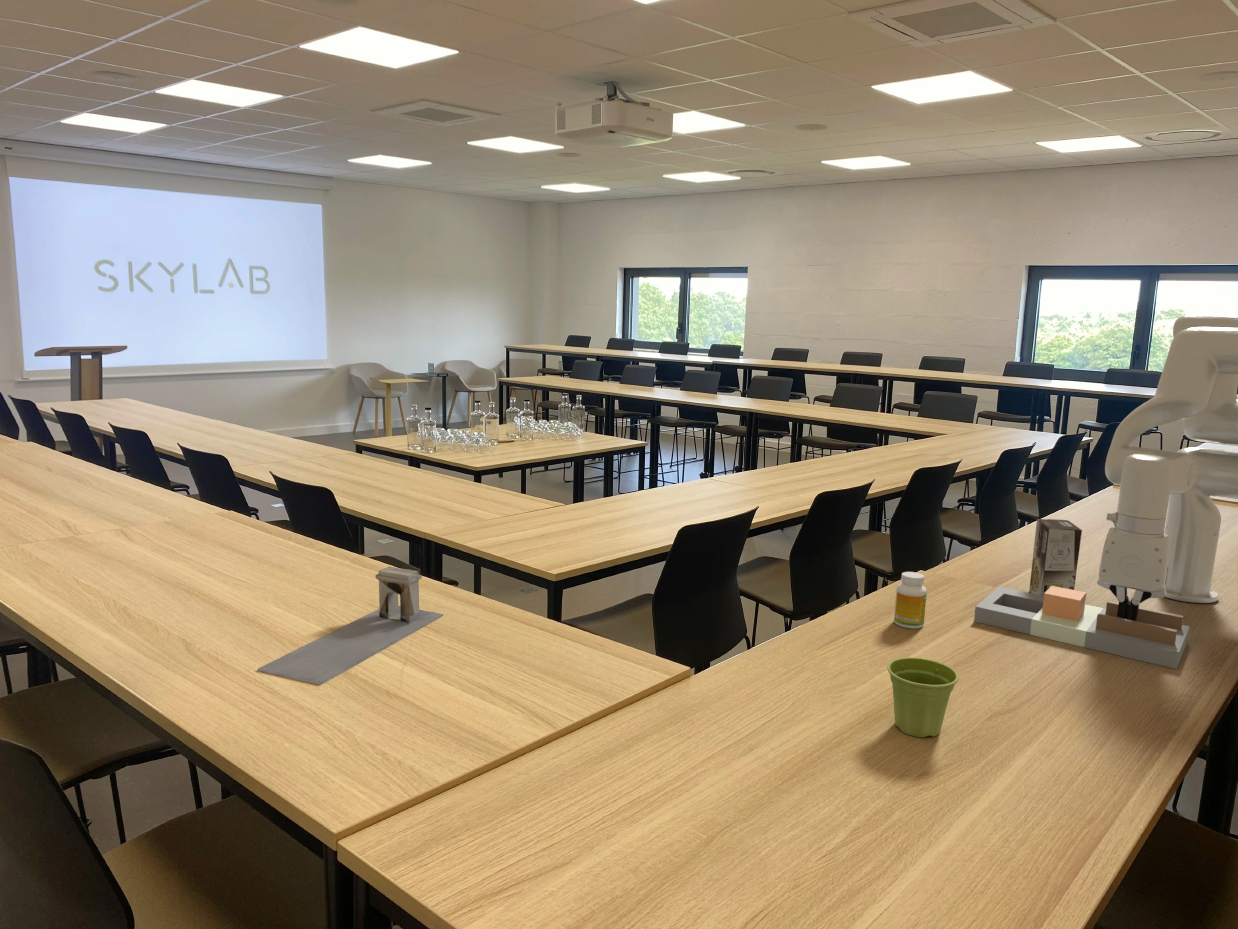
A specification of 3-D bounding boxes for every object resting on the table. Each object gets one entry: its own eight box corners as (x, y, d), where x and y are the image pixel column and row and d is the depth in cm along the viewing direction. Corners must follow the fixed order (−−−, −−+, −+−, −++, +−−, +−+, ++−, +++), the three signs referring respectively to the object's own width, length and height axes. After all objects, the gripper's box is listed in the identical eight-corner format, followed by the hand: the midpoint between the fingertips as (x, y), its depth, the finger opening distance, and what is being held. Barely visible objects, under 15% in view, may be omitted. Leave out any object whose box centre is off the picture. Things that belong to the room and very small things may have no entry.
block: (1049, 605, 166) (1051, 585, 165) (1083, 612, 162) (1086, 592, 161) (1041, 613, 161) (1044, 593, 160) (1077, 621, 157) (1080, 600, 157)
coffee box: (1073, 607, 174) (1083, 530, 171) (1039, 604, 175) (1048, 527, 172) (1060, 593, 183) (1069, 519, 180) (1027, 590, 184) (1036, 517, 181)
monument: (443, 617, 161) (442, 568, 159) (320, 688, 131) (318, 627, 129) (388, 607, 166) (387, 559, 164) (257, 673, 135) (254, 615, 134)
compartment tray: (997, 600, 177) (1000, 574, 176) (1187, 641, 157) (1191, 613, 156) (973, 621, 165) (976, 594, 164) (1176, 669, 144) (1181, 638, 143)
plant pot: (944, 751, 115) (951, 691, 114) (874, 732, 120) (879, 674, 119) (958, 724, 123) (964, 667, 122) (892, 707, 128) (897, 652, 127)
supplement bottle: (925, 630, 159) (930, 580, 157) (895, 627, 160) (899, 577, 159) (921, 620, 164) (926, 571, 163) (892, 617, 165) (896, 569, 164)
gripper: (1088, 520, 154) (1075, 618, 157) (1186, 536, 145) (1171, 639, 148) (1097, 513, 160) (1085, 607, 163) (1192, 528, 150) (1177, 627, 154)
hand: (1126, 622), depth 155 cm, fingers closed
